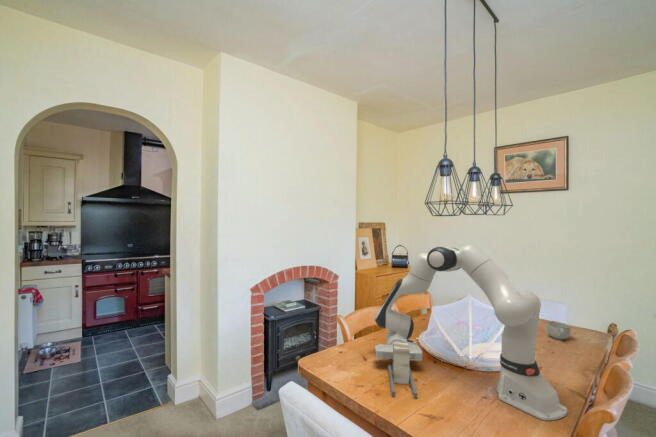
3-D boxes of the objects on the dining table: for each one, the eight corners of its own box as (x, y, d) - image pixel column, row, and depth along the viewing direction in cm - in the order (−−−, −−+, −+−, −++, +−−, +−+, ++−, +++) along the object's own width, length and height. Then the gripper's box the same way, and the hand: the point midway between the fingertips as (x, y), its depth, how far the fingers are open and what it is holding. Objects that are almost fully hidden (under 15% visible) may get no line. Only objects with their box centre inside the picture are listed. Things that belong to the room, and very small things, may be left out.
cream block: (392, 375, 132) (392, 342, 132) (407, 376, 131) (407, 343, 131) (393, 383, 126) (394, 348, 126) (409, 384, 125) (409, 349, 125)
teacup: (547, 332, 185) (547, 319, 185) (570, 337, 178) (570, 323, 178) (546, 340, 173) (546, 325, 173) (571, 345, 167) (571, 330, 167)
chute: (386, 370, 138) (386, 363, 138) (410, 372, 137) (410, 365, 137) (390, 399, 116) (390, 391, 116) (418, 401, 115) (418, 393, 115)
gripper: (374, 339, 146) (375, 351, 133) (419, 341, 144) (424, 354, 130) (374, 352, 147) (375, 366, 133) (419, 355, 144) (424, 369, 130)
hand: (400, 360), depth 131 cm, fingers closed, pressing on cream block
